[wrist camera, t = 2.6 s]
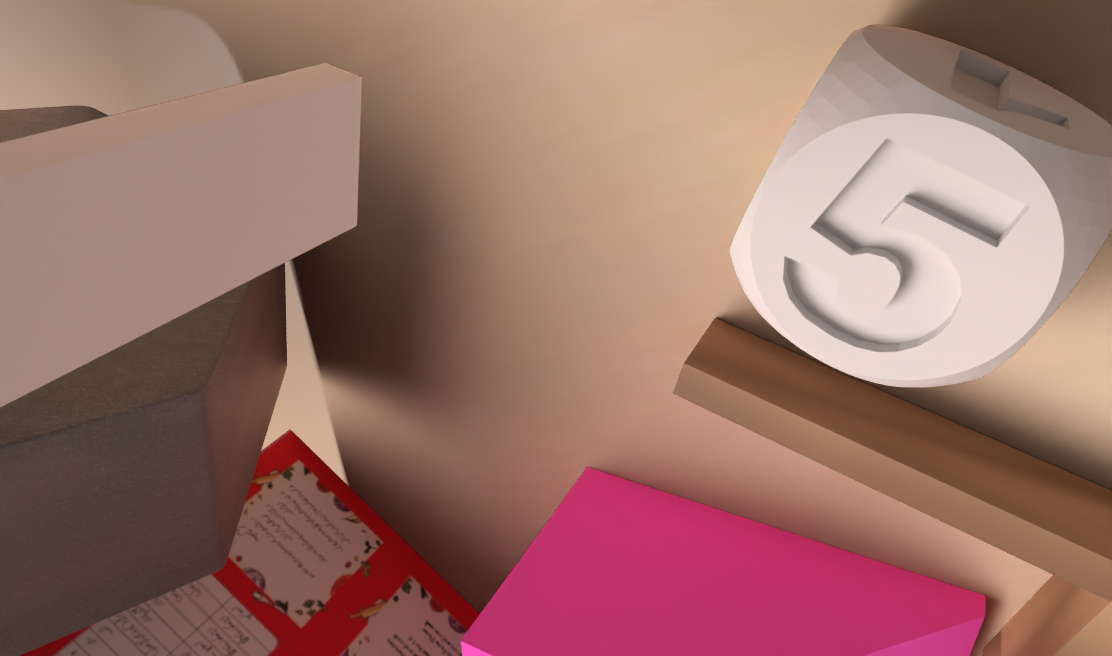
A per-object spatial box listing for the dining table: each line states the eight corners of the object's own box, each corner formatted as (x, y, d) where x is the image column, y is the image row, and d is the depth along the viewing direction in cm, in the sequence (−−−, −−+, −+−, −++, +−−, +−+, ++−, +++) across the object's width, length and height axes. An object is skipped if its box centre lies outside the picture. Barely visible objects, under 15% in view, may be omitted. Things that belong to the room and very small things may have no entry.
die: (1123, 114, 14) (1162, 199, 10) (961, 312, 17) (945, 434, 13) (876, 7, 15) (830, 48, 11) (765, 211, 18) (699, 298, 14)
